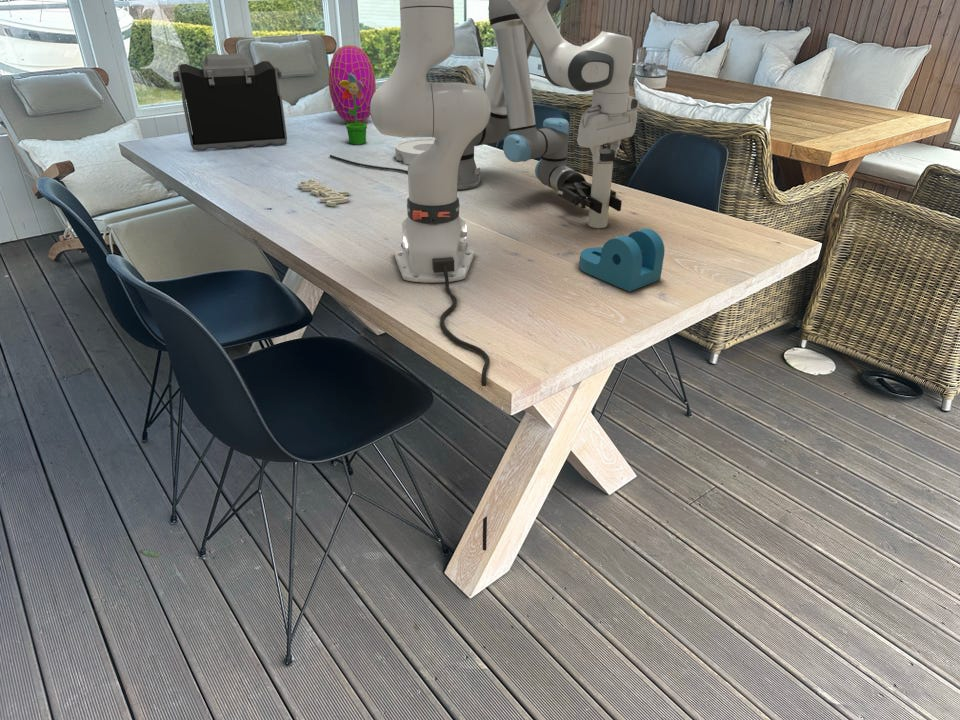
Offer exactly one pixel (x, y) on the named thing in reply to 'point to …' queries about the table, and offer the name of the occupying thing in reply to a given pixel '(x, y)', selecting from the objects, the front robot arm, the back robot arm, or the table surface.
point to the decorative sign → (324, 192)
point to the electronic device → (232, 102)
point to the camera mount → (626, 260)
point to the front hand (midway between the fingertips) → (604, 159)
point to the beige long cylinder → (601, 192)
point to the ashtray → (411, 149)
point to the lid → (607, 155)
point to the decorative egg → (340, 66)
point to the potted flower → (354, 129)
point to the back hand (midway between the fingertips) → (610, 207)
